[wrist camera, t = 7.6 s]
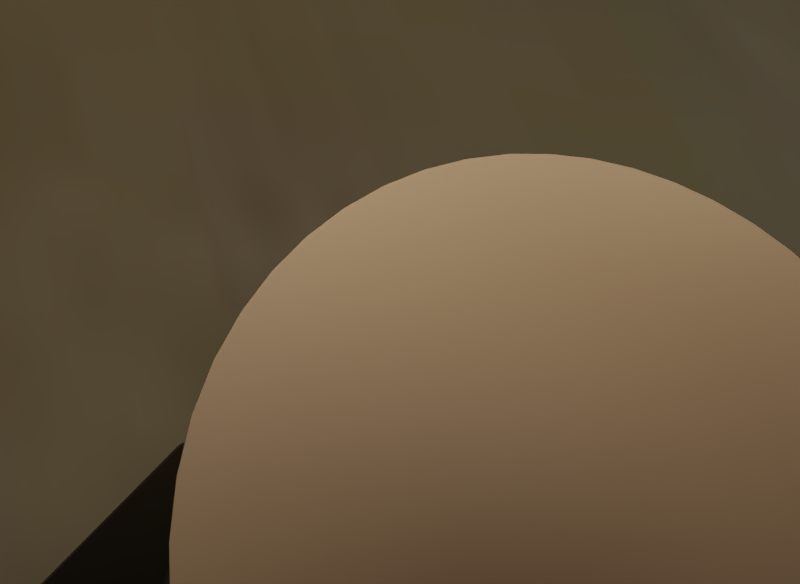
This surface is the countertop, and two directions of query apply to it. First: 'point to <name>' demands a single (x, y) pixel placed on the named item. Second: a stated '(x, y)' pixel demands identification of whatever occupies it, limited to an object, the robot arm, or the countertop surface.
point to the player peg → (506, 392)
